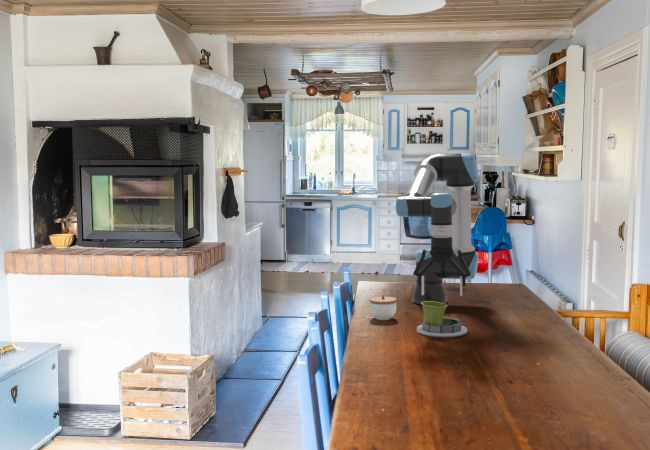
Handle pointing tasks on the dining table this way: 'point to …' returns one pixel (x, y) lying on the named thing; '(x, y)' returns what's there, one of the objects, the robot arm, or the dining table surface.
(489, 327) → the dining table surface
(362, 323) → the dining table surface
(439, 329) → the hub
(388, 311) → the lidded jar
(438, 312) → the plant pot
